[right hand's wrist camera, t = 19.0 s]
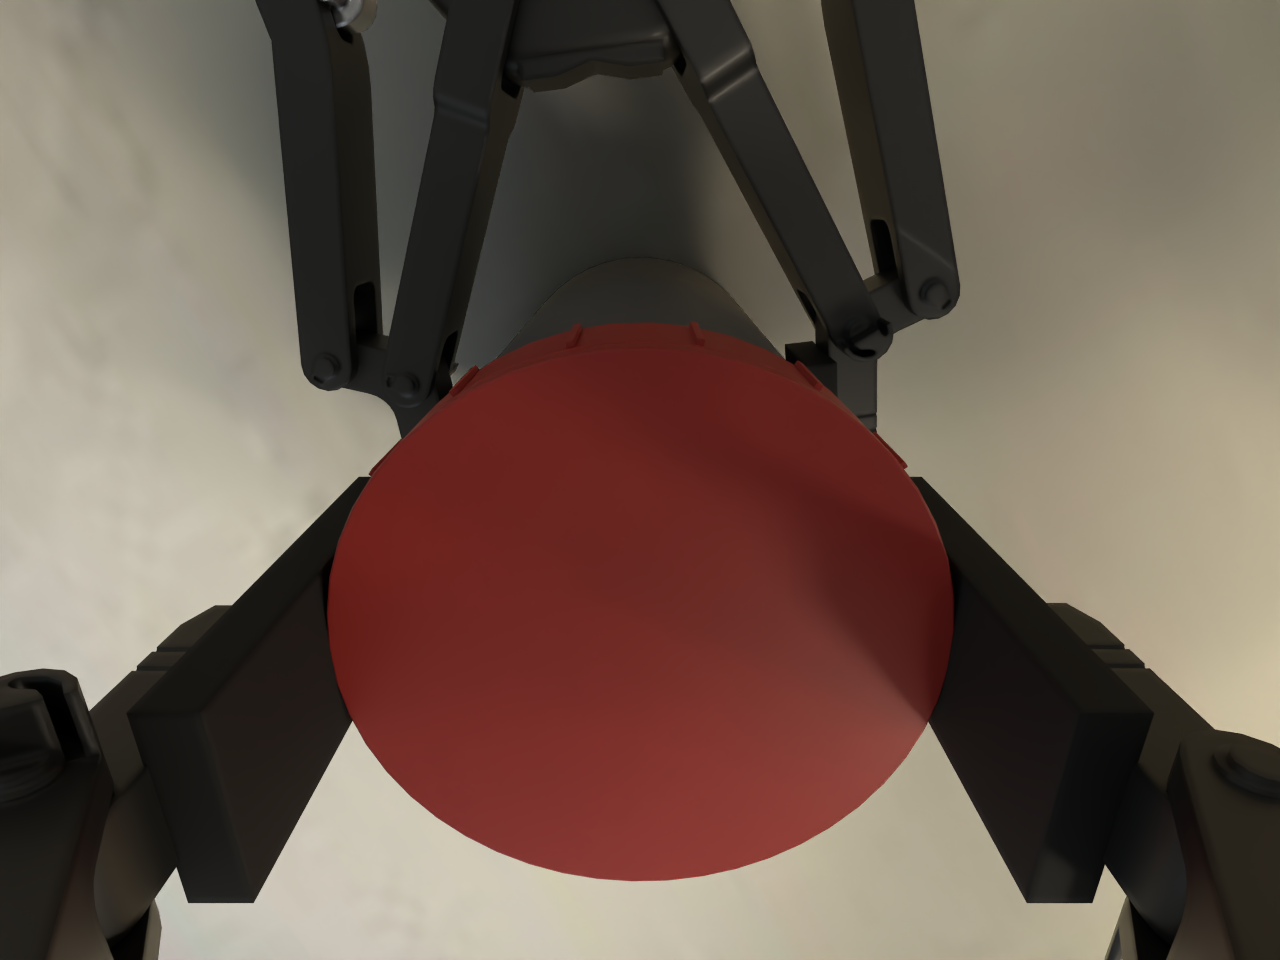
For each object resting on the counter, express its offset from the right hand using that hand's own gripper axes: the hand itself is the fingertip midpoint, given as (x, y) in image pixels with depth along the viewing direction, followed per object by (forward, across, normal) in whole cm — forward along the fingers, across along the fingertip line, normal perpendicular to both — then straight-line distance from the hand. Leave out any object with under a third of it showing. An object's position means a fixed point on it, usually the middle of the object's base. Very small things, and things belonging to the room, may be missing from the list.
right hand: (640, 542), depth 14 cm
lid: (-3, 0, 0) cm, 3 cm away
